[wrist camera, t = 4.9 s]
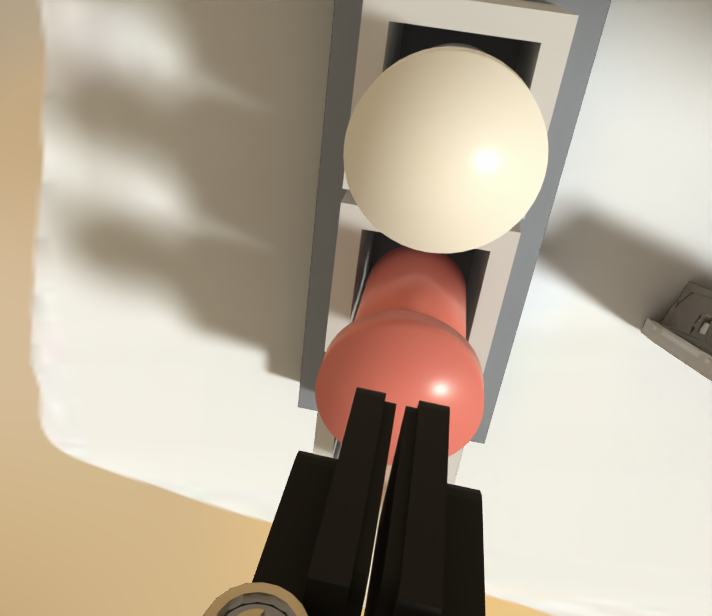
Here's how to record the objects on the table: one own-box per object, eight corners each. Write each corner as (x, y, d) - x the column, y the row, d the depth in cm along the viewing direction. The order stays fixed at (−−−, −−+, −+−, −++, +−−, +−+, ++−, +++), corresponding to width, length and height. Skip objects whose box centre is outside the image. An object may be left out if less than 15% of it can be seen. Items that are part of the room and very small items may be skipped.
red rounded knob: (493, 243, 26) (501, 346, 19) (466, 354, 29) (465, 480, 22) (361, 221, 27) (322, 313, 20) (347, 332, 29) (308, 448, 22)
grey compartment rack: (606, -23, 29) (661, -18, 20) (483, 418, 41) (486, 530, 33) (349, -57, 30) (303, -66, 21) (306, 384, 42) (267, 485, 34)
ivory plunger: (541, 37, 23) (574, 68, 16) (505, 184, 26) (519, 268, 18) (390, 15, 23) (355, 36, 16) (370, 162, 26) (334, 236, 19)
